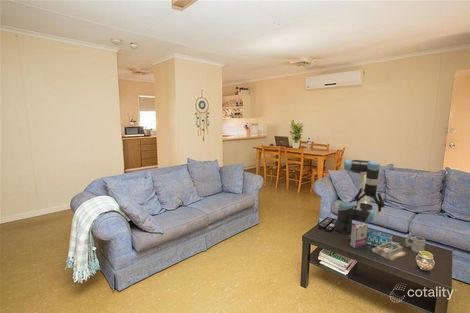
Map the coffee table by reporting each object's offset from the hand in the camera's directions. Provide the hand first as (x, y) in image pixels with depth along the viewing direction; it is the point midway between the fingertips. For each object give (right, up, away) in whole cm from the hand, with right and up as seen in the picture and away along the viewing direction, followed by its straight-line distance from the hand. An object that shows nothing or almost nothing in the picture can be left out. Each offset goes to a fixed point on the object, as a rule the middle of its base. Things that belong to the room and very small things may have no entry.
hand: (367, 212), depth 176 cm
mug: (+34, -28, +1) cm, 44 cm away
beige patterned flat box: (+13, -28, -3) cm, 31 cm away
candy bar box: (-4, -26, +5) cm, 27 cm away
